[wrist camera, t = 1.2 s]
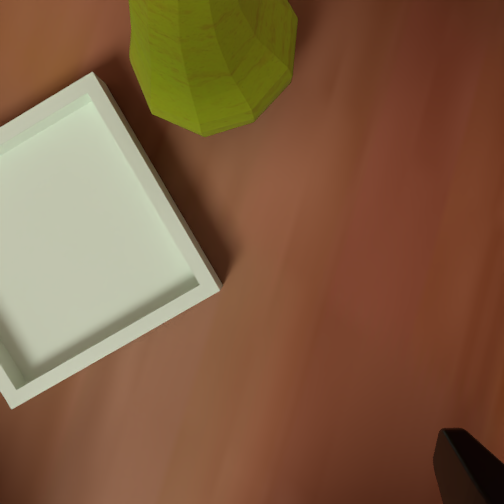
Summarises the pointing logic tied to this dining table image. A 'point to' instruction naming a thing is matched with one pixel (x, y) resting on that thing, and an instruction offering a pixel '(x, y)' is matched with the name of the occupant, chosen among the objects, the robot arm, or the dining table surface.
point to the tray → (84, 241)
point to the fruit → (212, 59)
